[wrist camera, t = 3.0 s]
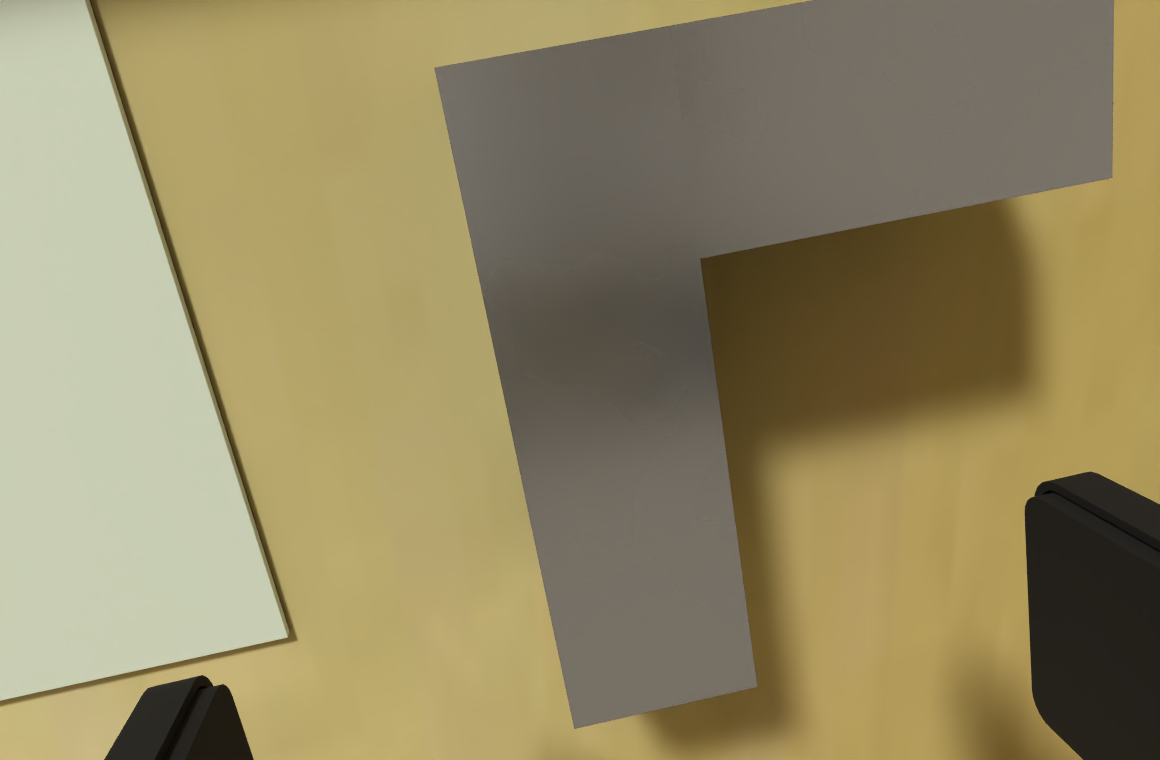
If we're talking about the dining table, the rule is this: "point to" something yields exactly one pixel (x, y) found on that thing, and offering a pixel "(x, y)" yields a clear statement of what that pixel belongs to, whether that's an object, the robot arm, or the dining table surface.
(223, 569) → the mat
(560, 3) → the dining table surface
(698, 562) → the bracket
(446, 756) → the dining table surface
